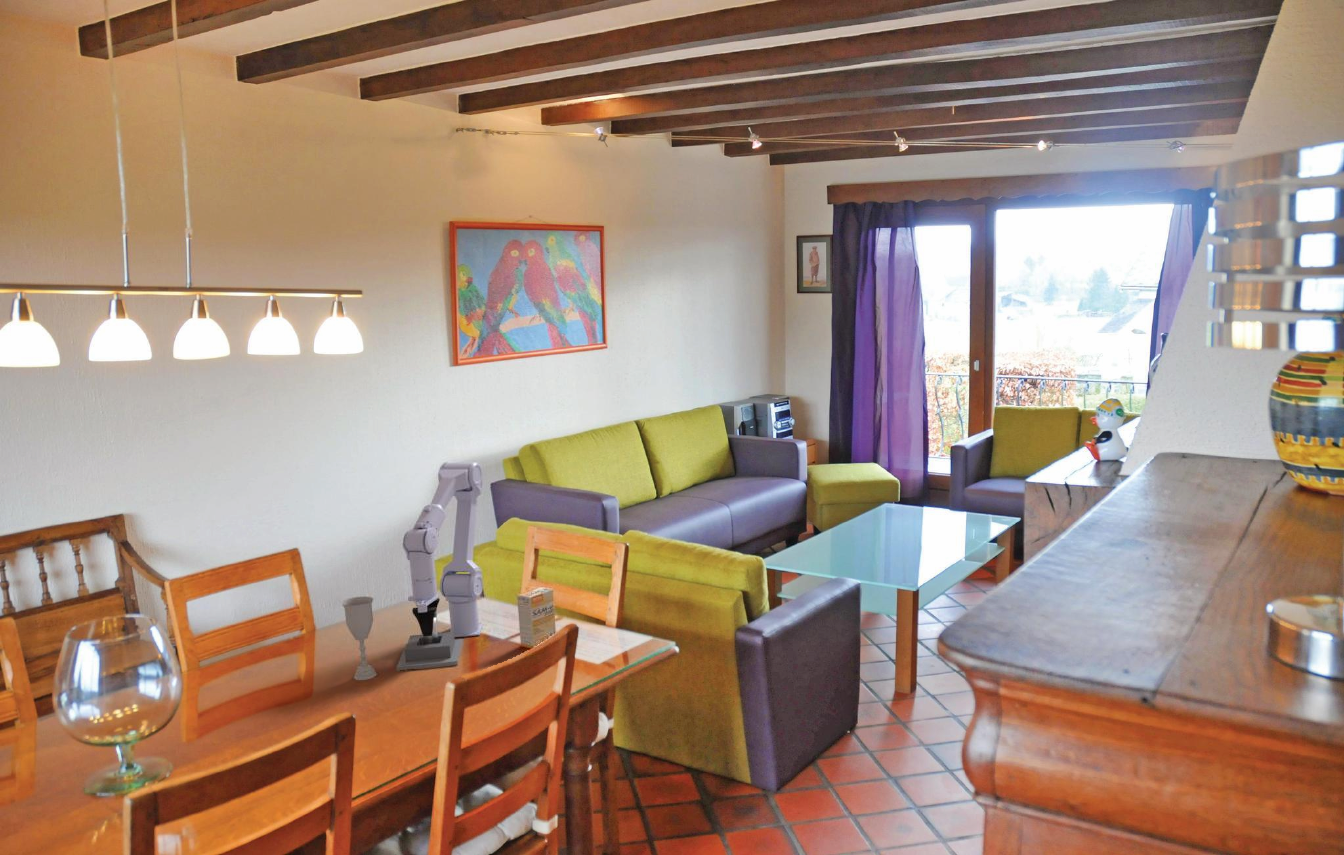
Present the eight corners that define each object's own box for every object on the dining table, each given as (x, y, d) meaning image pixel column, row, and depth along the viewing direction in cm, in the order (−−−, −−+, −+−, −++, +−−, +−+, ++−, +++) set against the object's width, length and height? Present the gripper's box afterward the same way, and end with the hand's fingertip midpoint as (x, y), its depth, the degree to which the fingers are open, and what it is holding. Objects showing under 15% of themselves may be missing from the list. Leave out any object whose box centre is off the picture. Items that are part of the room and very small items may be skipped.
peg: (423, 642, 246) (420, 610, 245) (440, 640, 246) (437, 609, 245) (420, 647, 242) (417, 615, 241) (437, 646, 242) (434, 614, 241)
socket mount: (406, 648, 252) (404, 632, 251) (463, 642, 253) (461, 627, 253) (396, 671, 236) (395, 654, 236) (457, 665, 238) (456, 648, 237)
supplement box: (534, 649, 245) (529, 597, 243) (520, 646, 248) (515, 594, 246) (557, 639, 251) (553, 588, 250) (543, 636, 254) (539, 585, 253)
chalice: (342, 679, 233) (334, 603, 231) (364, 668, 239) (356, 595, 237) (366, 683, 230) (358, 606, 227) (387, 672, 236) (380, 598, 233)
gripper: (410, 571, 249) (415, 624, 251) (402, 587, 235) (407, 644, 236) (439, 568, 250) (444, 621, 251) (433, 585, 235) (438, 641, 237)
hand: (428, 632), depth 244 cm, fingers closed on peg, 4 cm apart
